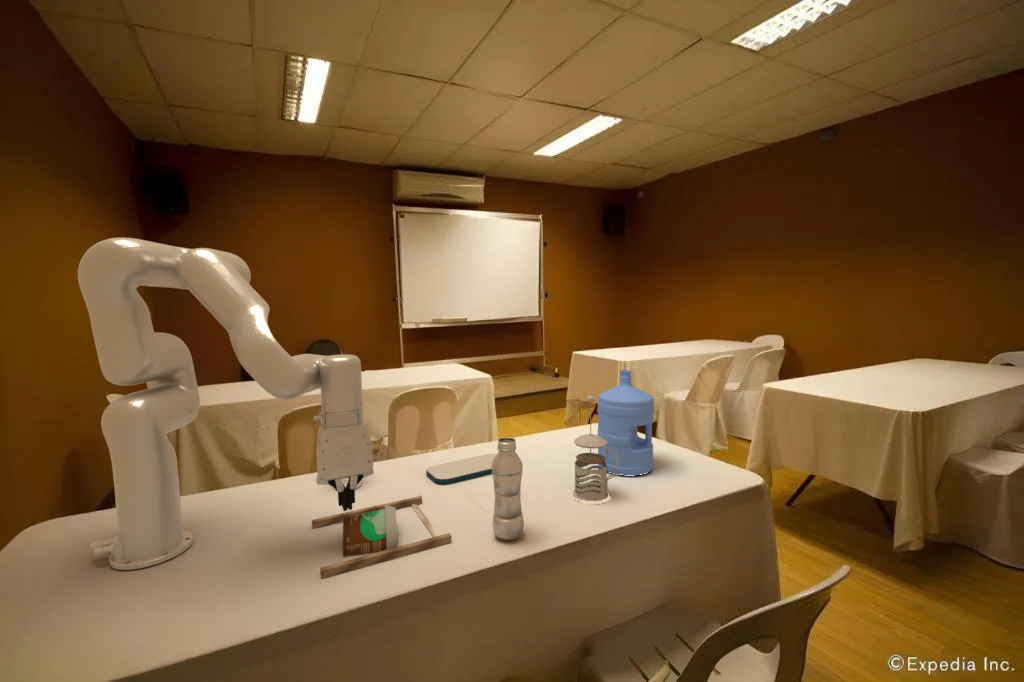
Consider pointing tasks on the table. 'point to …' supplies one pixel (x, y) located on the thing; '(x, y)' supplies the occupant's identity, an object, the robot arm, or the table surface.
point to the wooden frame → (385, 554)
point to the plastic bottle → (507, 491)
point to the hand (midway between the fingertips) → (347, 507)
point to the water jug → (626, 427)
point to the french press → (593, 488)
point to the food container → (370, 532)
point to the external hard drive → (461, 470)
